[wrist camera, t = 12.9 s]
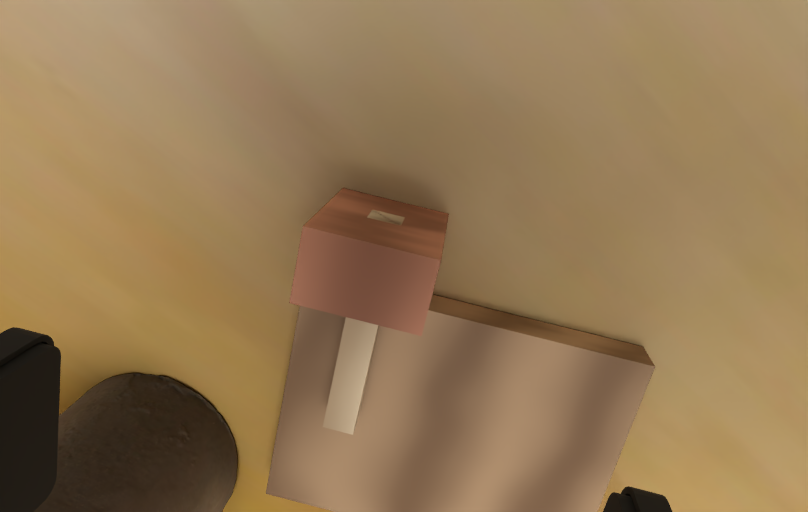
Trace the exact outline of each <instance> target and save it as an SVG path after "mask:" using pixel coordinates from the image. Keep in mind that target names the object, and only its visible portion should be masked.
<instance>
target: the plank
mask: <svg viewBox="0 0 808 512" xmlns="http://www.w3.org/2000/svg"><path fill="white" fill-rule="evenodd" d="M345 319H346V317H343V316H339V315H335V314H331V313H327V312H323V311H320V310H316V309H312V308H308V307H304V306H300V308H299V313H298V319H297V324H296V330H295V335H294V341H293V347H292V352H291V358H290V363H289V369H288V374H287V380H286V385H285V391H284V396H283V402H282V407H281V413H280V418H279V424H278V429H277V435H276V440H275V446H274V451H273V457H272V462H271V468H270V473H269V479H268V484H267V490H266V494H269V495H273V496H277V497H281V498H285V499H288V500H292V501H296V502H300V503H304V504H308V505H311V506H315V507H319V508H323V509H327V510H330V511H334V512H597V511H598V509H599V506H600V504H601V501H602V499H603V496H604V494H605V491H606V489H607V486H608V484H609V481H610V479H611V476H612V474H613V471H614V469H615V466H616V464H617V461H618V459H619V456H620V454H621V451H622V449H623V446H624V444H625V441H626V439H627V436H628V434H629V431H630V429H631V426H632V424H633V421H634V419H635V416H636V414H637V411H638V409H639V406H640V403H641V401H642V398H643V396H644V393H645V391H646V388H647V386H648V383H649V381H650V378H651V376H652V373H653V371H654V368H655V366H654V364H653V362H652V361H651V359H650V357H649V356H648V354H647V352H646V351H645V349H644V347H642V346H638V345H634V344H630V343H626V342H622V341H618V340H614V339H610V338H606V337H602V336H598V335H594V334H590V333H586V332H582V331H577V330H573V329H569V328H565V327H561V326H557V325H553V324H549V323H545V322H541V321H537V320H533V319H529V318H525V317H521V316H517V315H513V314H509V313H505V312H501V311H497V310H493V309H489V308H485V307H481V306H477V305H473V304H469V303H465V302H461V301H457V300H453V299H449V298H444V297H440V296H436V295H432V298H431V302H430V306H429V309H428V313H427V317H426V321H425V325H424V329H423V333H422V336H418V335H414V334H411V333H407V332H403V331H399V330H395V329H391V328H387V327H383V326H380V327H379V331H378V335H377V339H376V344H375V348H374V352H373V357H372V361H371V365H370V370H369V374H368V378H367V383H366V387H365V391H364V396H363V400H362V404H361V408H360V413H359V417H358V420H357V423H356V427H355V430H354V433H353V435H352V434H348V433H344V432H340V431H336V430H332V429H329V428H325V427H323V423H324V419H325V414H326V409H327V404H328V400H329V395H330V390H331V386H332V381H333V376H334V371H335V367H336V362H337V357H338V352H339V348H340V343H341V338H342V333H343V329H344V324H345Z"/></svg>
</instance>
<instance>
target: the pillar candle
mask: <svg viewBox="0 0 808 512" xmlns="http://www.w3.org/2000/svg"><path fill="white" fill-rule="evenodd" d="M236 472H237V451H236V446H235V442H234V439H233V437H232V435H231V433H230V430H229V428H228V426H227V424H226V423H225V422H224V420H223V419H222V416H221V415H220V414H219V413H217V412H216V409H214V407H213V406H212V405H211V404H210V403H209V402H207V401H206V400H205V399H204V398H203V397H202V396H200V395H199V394H198V393H195V392H193V391H192V390H191V389H188V388H187V387H185V386H184V385H183V384H181V383H179V382H177V381H174V380H173V379H170V378H168V377H164V376H156V375H145V374H139V373H132V374H124V375H119V376H115V377H111V378H109V379H106V380H104V381H102V382H100V383H99V384H98V385H96V386H94V387H93V388H91V389H90V390H89V391H87V392H86V393H85V394H84V395H83V396H82V397H81V398H79V399H78V400H77V401H76V402H75V403H74V404H73V405H71V406H70V407H69V408H68V409H67V410H66V411H64V412H63V413H62V414H61V415H59V424H58V454H57V477H56V482H55V485H54V487H53V489H52V491H51V493H50V495H49V496H48V497H47V499H46V500H45V501H44V502H43V503H42V504H41V505H40V506H39V507H38V508H37V509H36V510H35V511H34V512H222V511H223V509H224V507H225V505H226V503H227V501H228V500H229V498H230V497H231V495H232V493H233V489H234V485H235V482H236Z"/></svg>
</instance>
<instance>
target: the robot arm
mask: <svg viewBox="0 0 808 512" xmlns="http://www.w3.org/2000/svg"><path fill="white" fill-rule="evenodd" d="M60 364H61V354H60V350H59V349H58V348H57V347H55V346H54V342H53V340H52V338H51V337H49V336H48V335H44V334H40V333H36V332H32V331H29V330H25V329H21V328H10V329H8V330H6V331H4V332H2V333H0V512H34V511H35V510H36V509H37V508H38V507H39V506H40V505H41V504H42V503H43V502H44V501H45V500H46V499H47V497H48V496H49V495H50V493H51V491H52V489H53V487H54V485H55V482H56V477H57V454H58V424H59V394H60ZM603 512H672V510H671V507H670V505H669V503H668V501H667V499H666V497H664V496H663V495H660V494H656V493H652V492H648V491H644V490H641V489H637V488H633V487H625V488H624V490H623V491H622V493H621V494H619V493H615V492H614V493H612V494H611V495H610V496H609V498H608V501H607V503H606V506H605V508H604V511H603Z"/></svg>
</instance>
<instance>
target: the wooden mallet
mask: <svg viewBox="0 0 808 512" xmlns="http://www.w3.org/2000/svg"><path fill="white" fill-rule="evenodd" d="M448 215H449V214H447V213H443V212H439V211H435V210H431V209H427V208H423V207H419V206H414V205H410V204H406V203H402V202H398V201H394V200H390V199H386V198H382V197H378V196H374V195H370V194H366V193H361V192H357V191H353V190H349V189H345V188H343V189H342V190H340V191H339V192H338V193H337V194H336V195H335V196H334V197H333V198H332V199H331V200H330V201H329V202H328V203H327V204H326V205H325V206H324V207H323V208H322V209H320V210H319V211H318V212H317V213H316V214H315V215H314V216H313V217H312V218H311V219H310V220H309V221H308V222H307V223H306V224H305V225H304V226H303V229H302V234H301V240H300V246H299V251H298V257H297V263H296V268H295V274H294V279H293V285H292V291H291V296H290V302H289V303H292V304H296V305H300V306H304V307H308V308H312V309H316V310H320V311H323V312H327V313H331V314H335V315H339V316H343V317H346V319H345V324H344V329H343V333H342V338H341V343H340V348H339V352H338V357H337V362H336V367H335V371H334V376H333V381H332V386H331V390H330V395H329V400H328V404H327V409H326V414H325V419H324V423H323V427H325V428H329V429H332V430H336V431H340V432H344V433H348V434H352V435H353V433H354V430H355V427H356V423H357V420H358V417H359V413H360V408H361V404H362V400H363V396H364V391H365V387H366V383H367V378H368V374H369V370H370V365H371V361H372V357H373V352H374V348H375V344H376V339H377V335H378V331H379V327H380V326H383V327H387V328H391V329H395V330H399V331H403V332H407V333H411V334H414V335H418V336H422V333H423V329H424V325H425V321H426V317H427V313H428V309H429V306H430V302H431V298H432V294H433V290H434V286H435V282H436V278H437V274H438V271H439V267H440V263H441V258H442V252H443V246H444V240H445V234H446V228H447V221H448Z"/></svg>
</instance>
